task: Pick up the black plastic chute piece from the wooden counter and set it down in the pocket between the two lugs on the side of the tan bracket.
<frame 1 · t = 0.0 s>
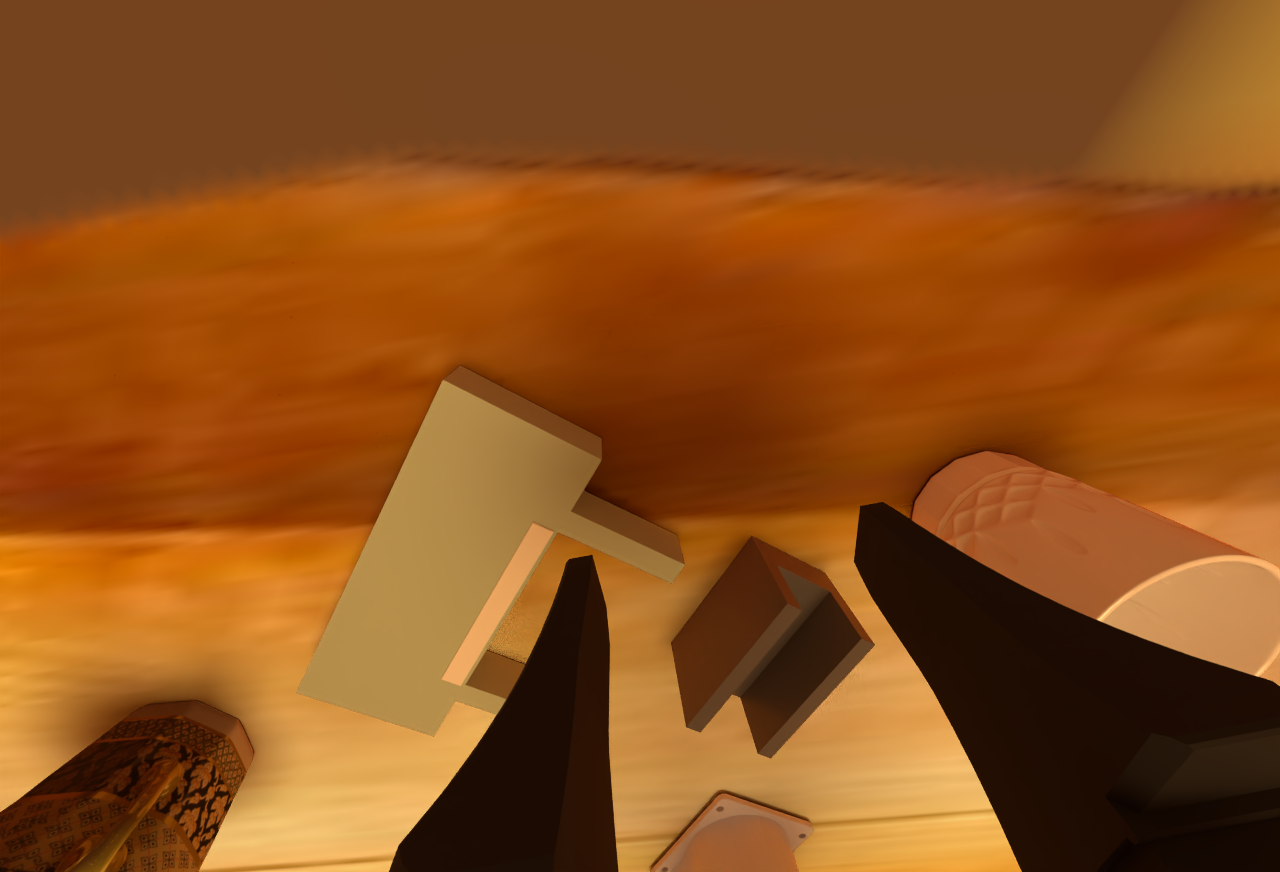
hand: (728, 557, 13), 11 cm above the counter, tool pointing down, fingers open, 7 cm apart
ceramic cup: (206, 723, 27), on the counter
white cup: (968, 506, 26), on the counter
tan bracket: (517, 579, 25), on the counter
chute: (745, 606, 27), on the counter
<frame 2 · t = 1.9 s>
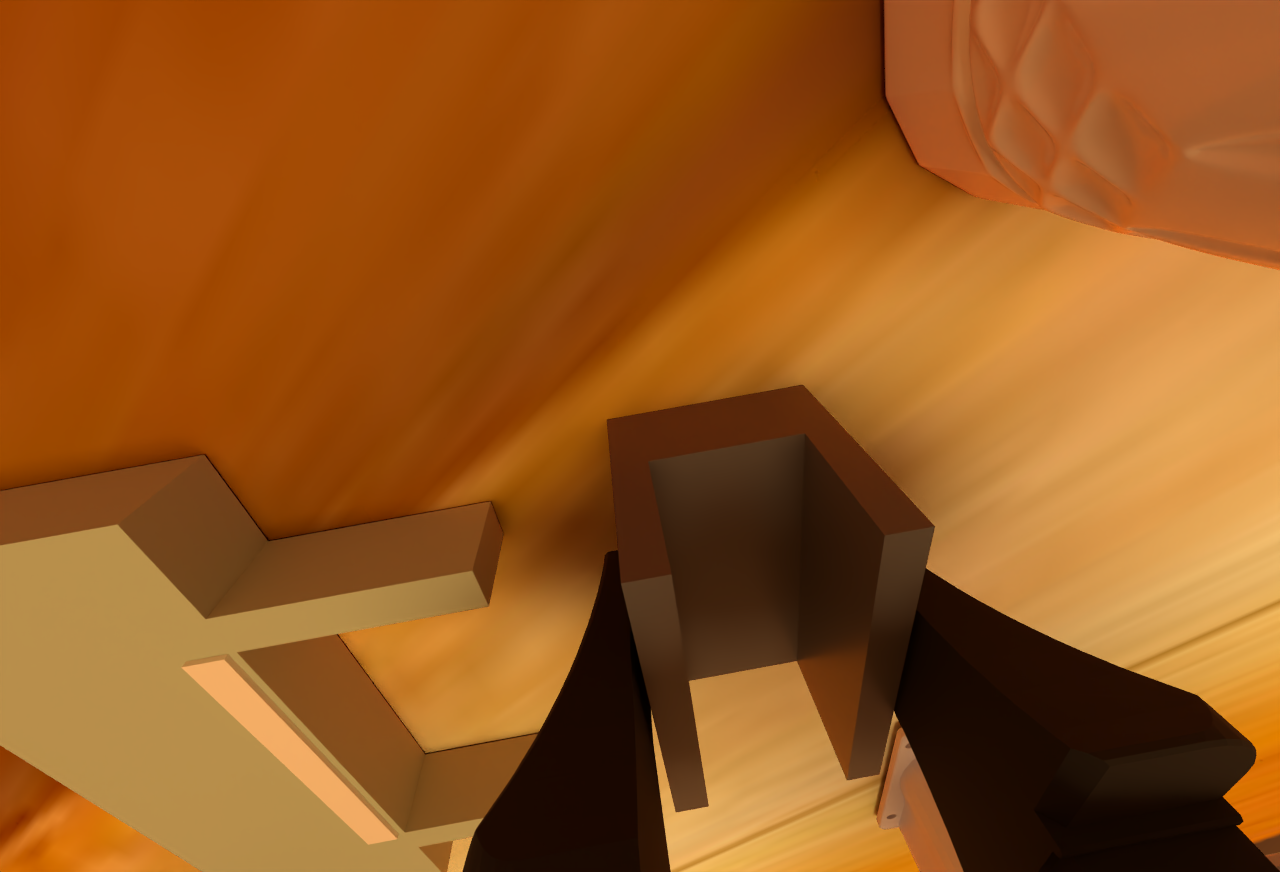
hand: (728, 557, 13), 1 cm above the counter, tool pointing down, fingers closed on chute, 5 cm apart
tan bracket: (369, 678, 16), on the counter
chute: (715, 521, 14), on the counter, touching gripper
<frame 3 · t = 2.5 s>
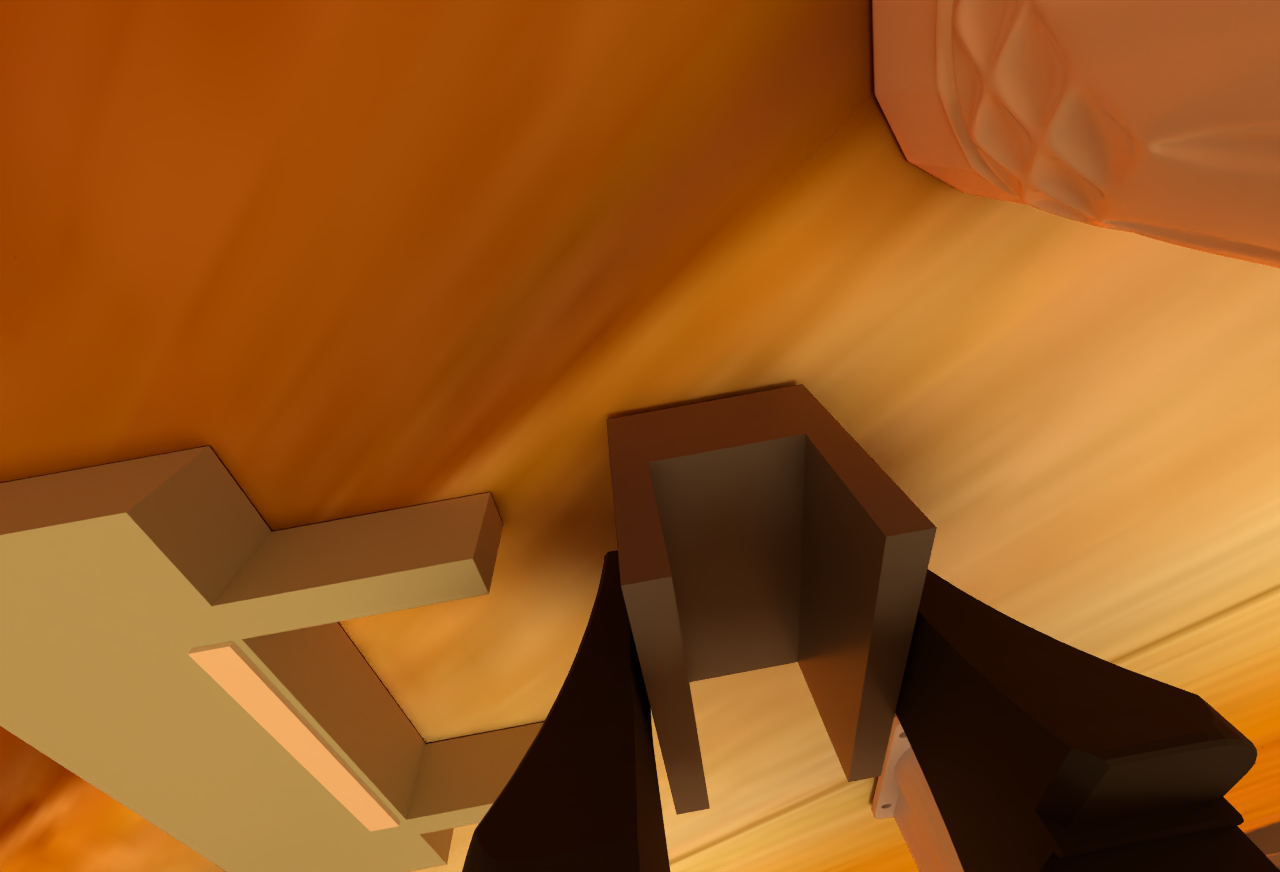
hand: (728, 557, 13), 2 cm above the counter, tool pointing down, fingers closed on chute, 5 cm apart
tan bracket: (370, 667, 16), on the counter
chute: (715, 522, 14), on the counter, touching gripper
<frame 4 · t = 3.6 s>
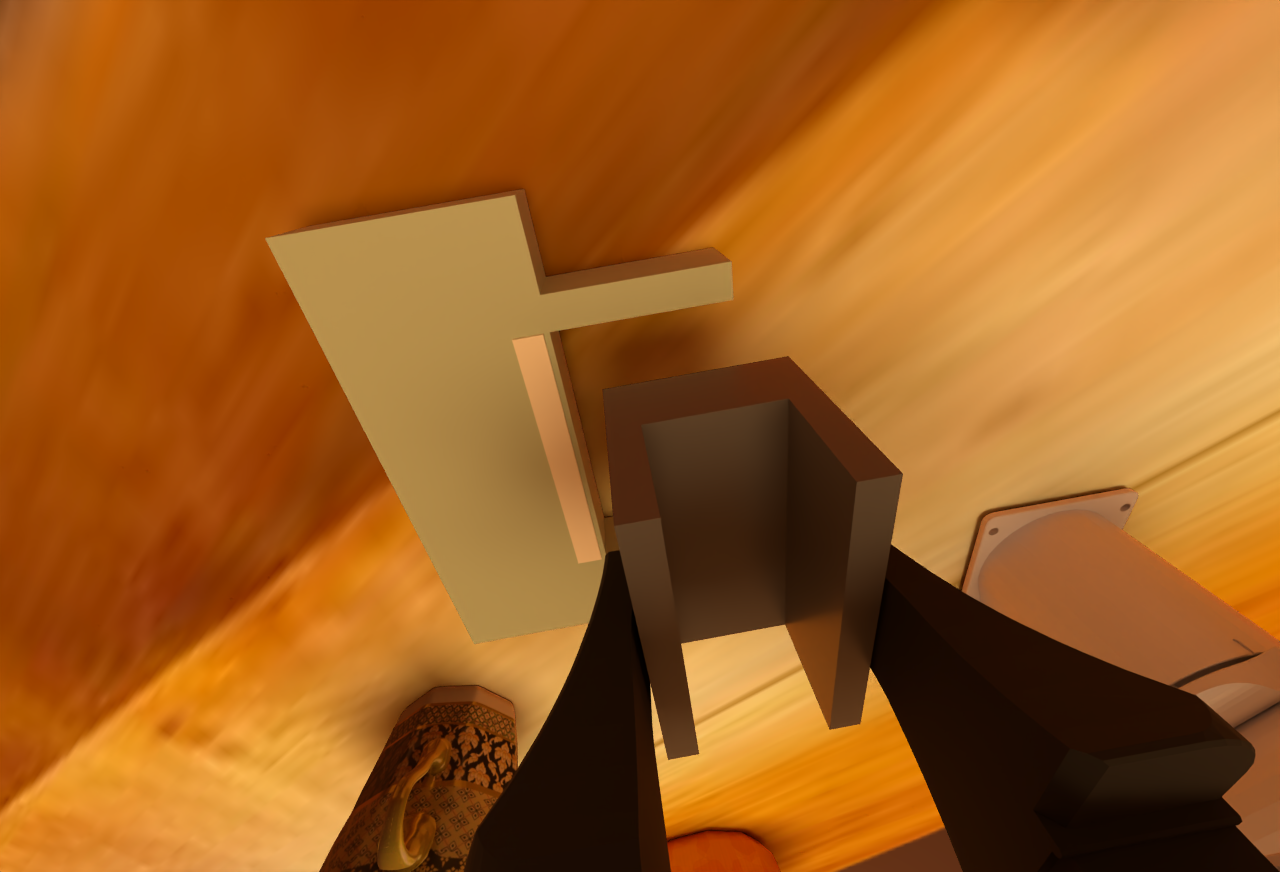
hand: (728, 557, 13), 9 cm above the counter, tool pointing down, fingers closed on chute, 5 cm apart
ceramic cup: (460, 699, 29), on the counter
tan bracket: (582, 427, 20), on the counter
chute: (706, 491, 15), point 6 cm above the counter, touching gripper
bucket of meat: (697, 855, 44), on the counter
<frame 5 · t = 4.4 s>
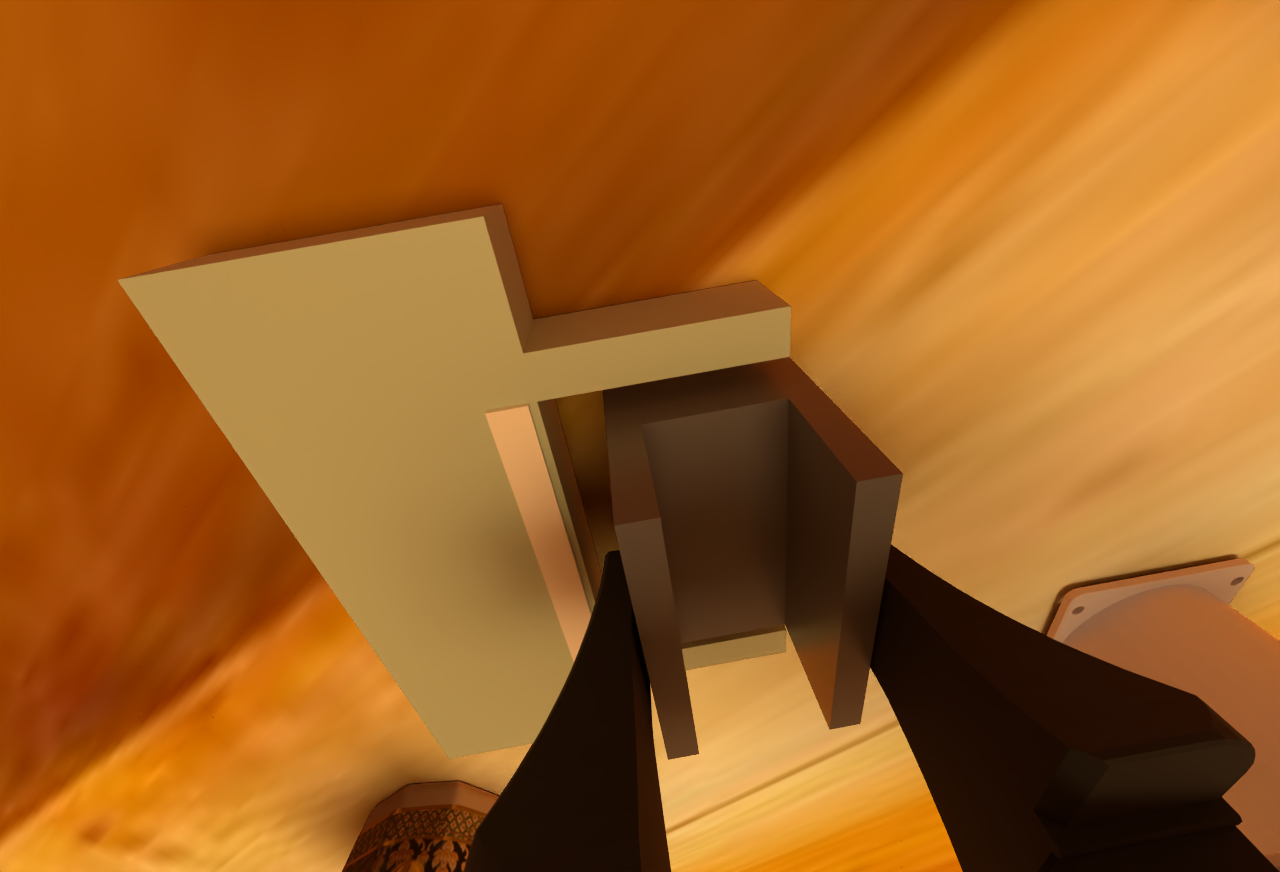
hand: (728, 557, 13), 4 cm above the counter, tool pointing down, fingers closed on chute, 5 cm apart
ceramic cup: (439, 794, 25), on the counter
tan bracket: (582, 501, 16), on the counter
chute: (706, 490, 15), point 1 cm above the counter, touching gripper
when the fingers open (3 cm above the counter, at t = 5.0 s): chute stays where it is, on the counter.
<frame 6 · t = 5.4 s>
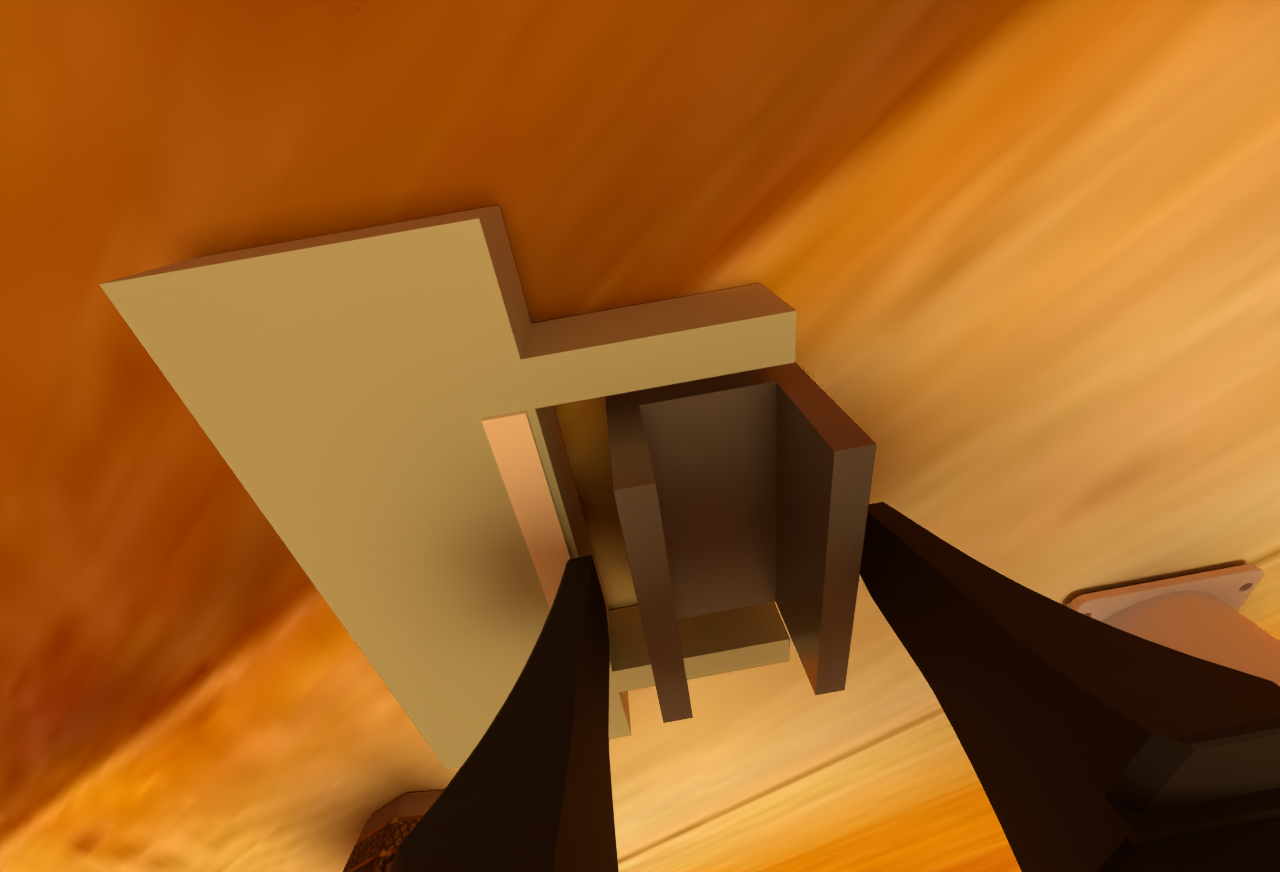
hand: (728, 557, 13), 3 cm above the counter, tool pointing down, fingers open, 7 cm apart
ceramic cup: (436, 802, 25), on the counter
tan bracket: (581, 508, 16), on the counter
chute: (701, 474, 16), on the counter
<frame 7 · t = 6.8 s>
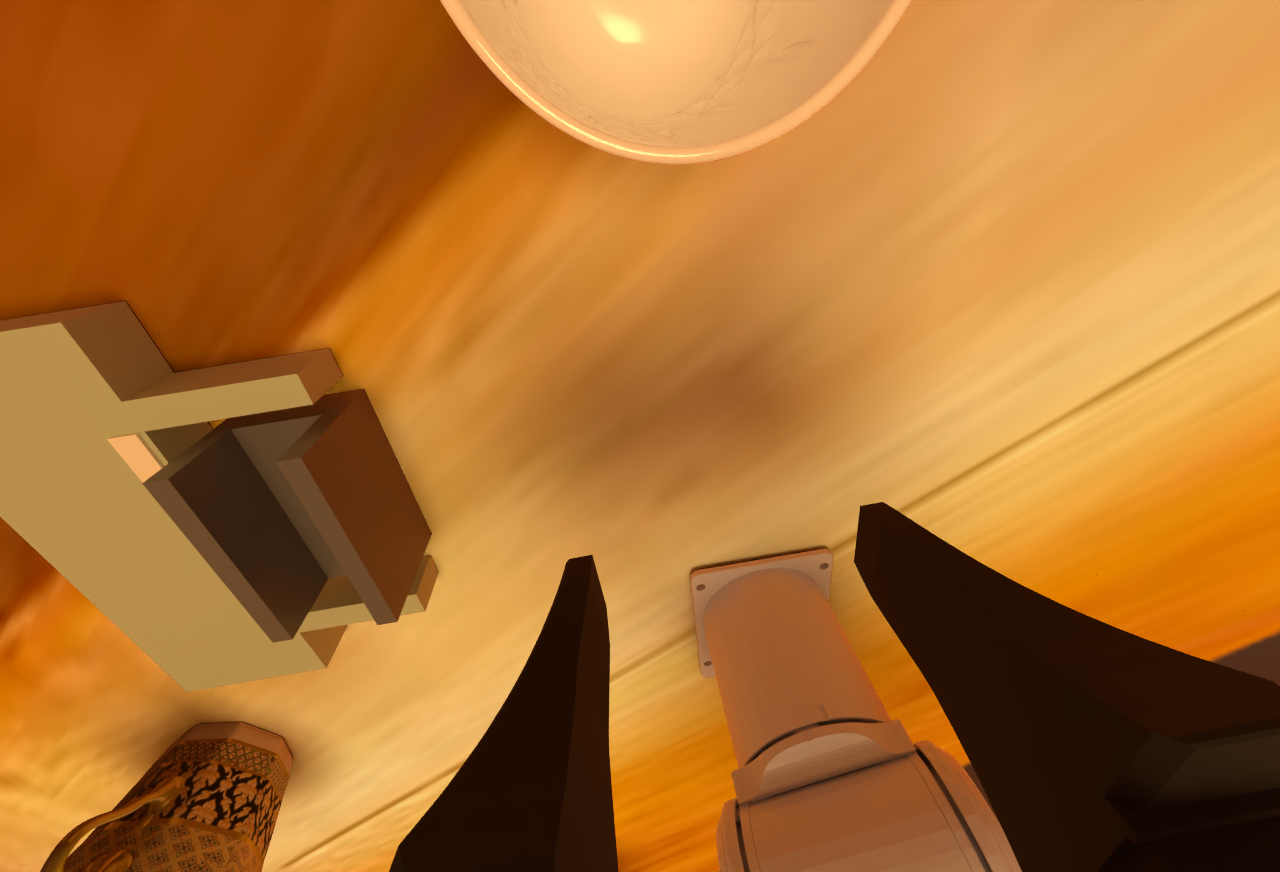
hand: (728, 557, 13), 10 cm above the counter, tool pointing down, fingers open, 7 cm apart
ceramic cup: (230, 734, 31), on the counter
white cup: (626, 6, 15), on the counter
tan bracket: (259, 498, 22), on the counter
chute: (347, 474, 22), on the counter
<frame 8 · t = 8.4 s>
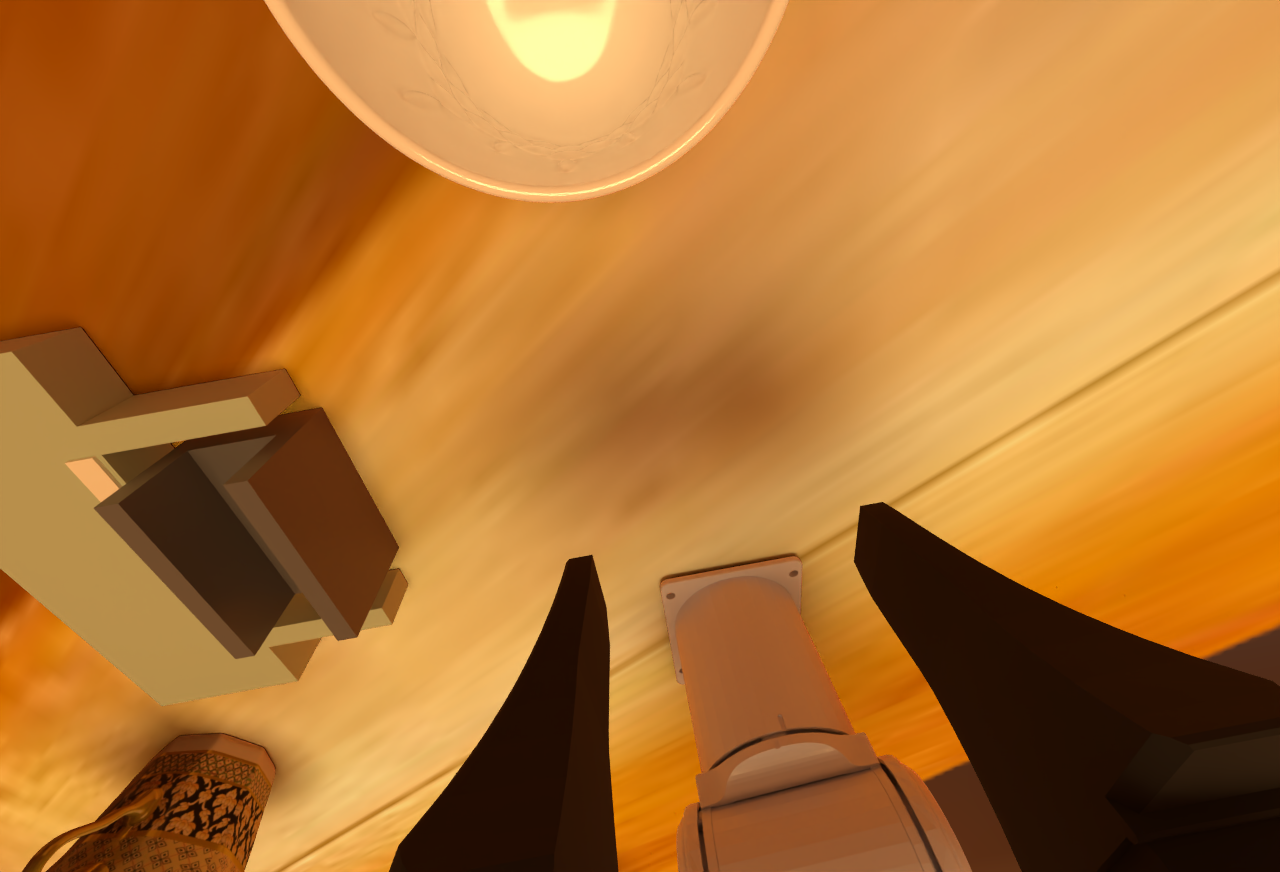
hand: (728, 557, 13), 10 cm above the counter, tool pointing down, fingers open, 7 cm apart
ceramic cup: (212, 745, 31), on the counter
white cup: (558, 30, 15), on the counter
tan bracket: (225, 515, 22), on the counter
chute: (311, 491, 22), on the counter
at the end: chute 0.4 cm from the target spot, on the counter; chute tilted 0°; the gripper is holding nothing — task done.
